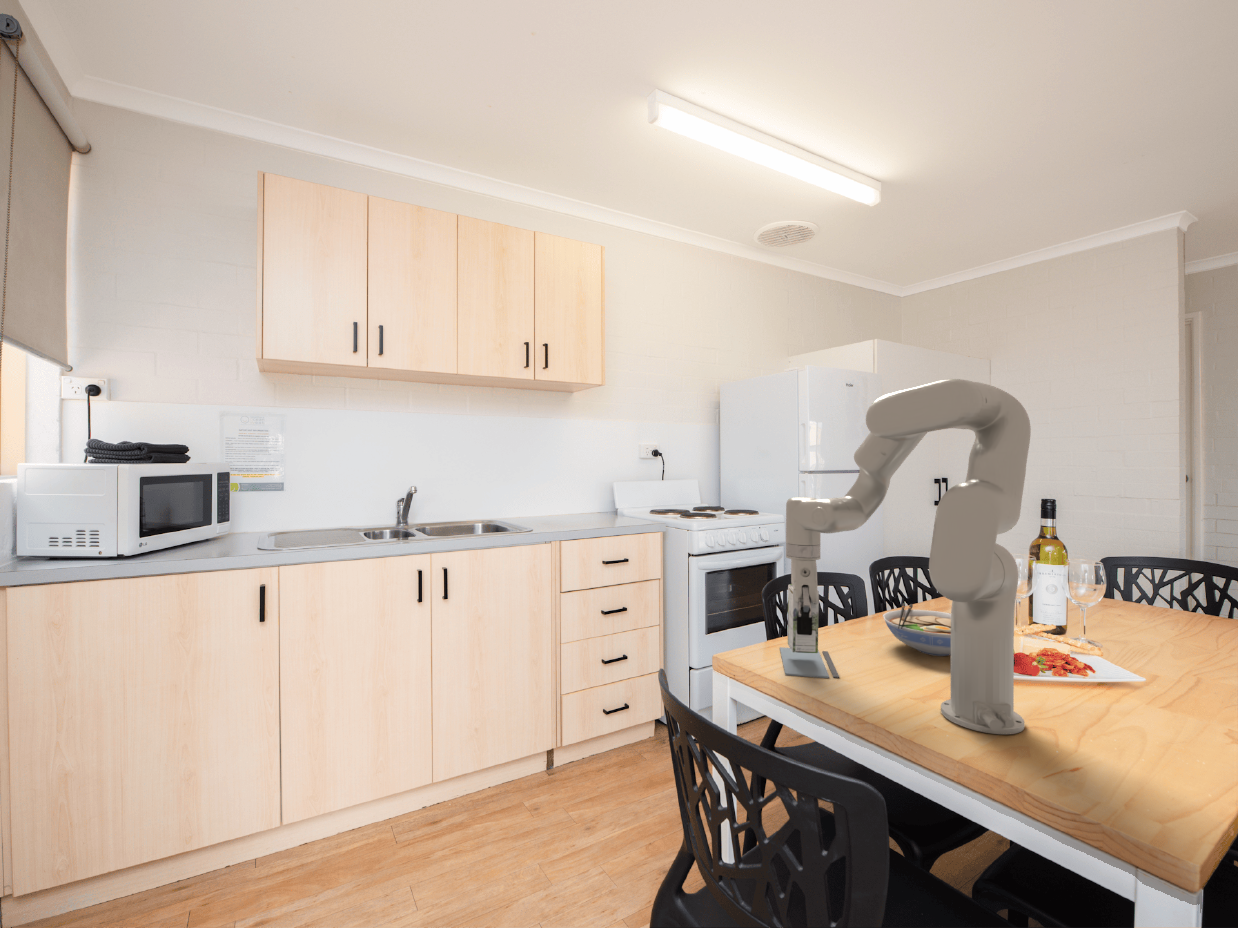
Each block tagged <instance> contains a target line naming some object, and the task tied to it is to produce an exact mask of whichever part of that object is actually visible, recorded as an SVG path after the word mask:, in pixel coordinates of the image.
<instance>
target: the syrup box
mask: <svg viewBox="0 0 1238 928" xmlns="http://www.w3.org/2000/svg"><path fill="white" fill-rule="evenodd" d="M817 591H818V603H817V604H816V605H815V604H814V603H813V602H812V600H811V614H812V635H799V634H797V616H798V604H797V603H796V602H795V597H794V589H793V587H792V583H790V584H788V586H787V645H788V648H790V649H791V650H792V652H798V653H818V650H819V608H820V607H819V605H820V603H819V602H820V601H819V600H820V595H819V594H820V592H819V590H818V589H817ZM800 602H803V600H802V599H800ZM801 607H803V606H801Z"/></svg>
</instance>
